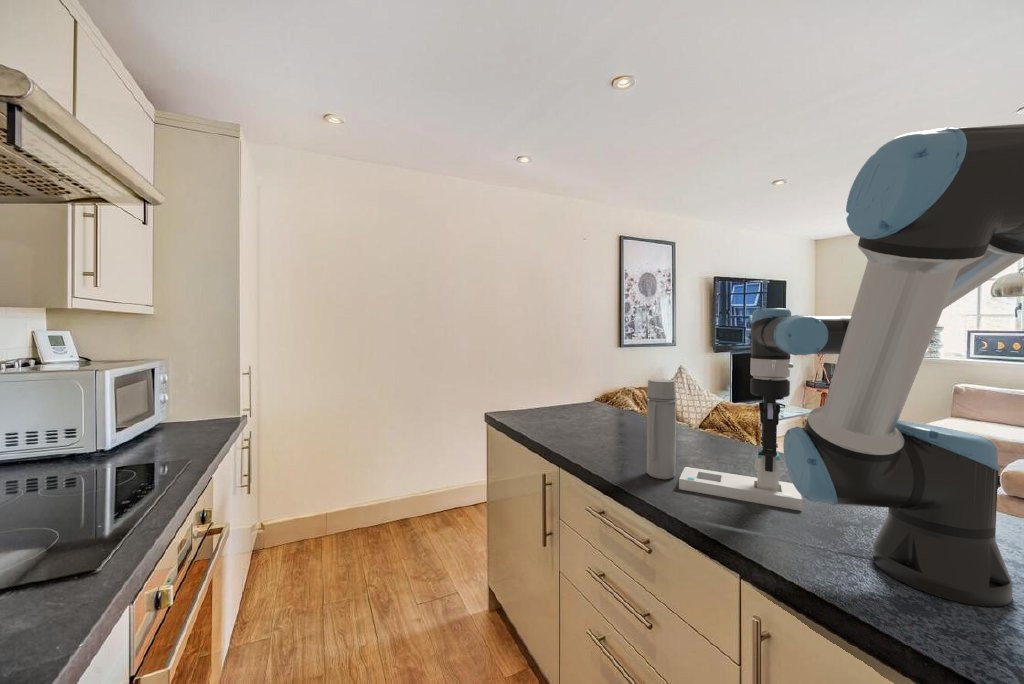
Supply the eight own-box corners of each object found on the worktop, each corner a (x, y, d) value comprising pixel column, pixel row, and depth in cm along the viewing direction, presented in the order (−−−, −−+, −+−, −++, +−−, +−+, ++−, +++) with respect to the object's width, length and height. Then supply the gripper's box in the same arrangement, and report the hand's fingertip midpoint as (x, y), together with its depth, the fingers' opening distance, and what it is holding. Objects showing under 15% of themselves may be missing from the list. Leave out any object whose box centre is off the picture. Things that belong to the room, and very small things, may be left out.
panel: (801, 513, 87) (802, 498, 87) (678, 491, 99) (679, 478, 99) (797, 497, 96) (797, 483, 96) (684, 478, 108) (685, 466, 108)
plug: (778, 501, 92) (779, 456, 91) (754, 497, 94) (755, 453, 94) (777, 495, 95) (778, 451, 95) (754, 491, 97) (755, 448, 97)
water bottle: (653, 468, 115) (654, 378, 114) (681, 475, 109) (682, 380, 109) (636, 477, 108) (637, 380, 108) (665, 485, 103) (666, 383, 102)
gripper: (793, 383, 83) (791, 498, 84) (787, 374, 100) (785, 470, 101) (750, 381, 87) (748, 491, 88) (750, 373, 104) (749, 465, 104)
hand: (767, 480), depth 94 cm, fingers open, 6 cm apart
